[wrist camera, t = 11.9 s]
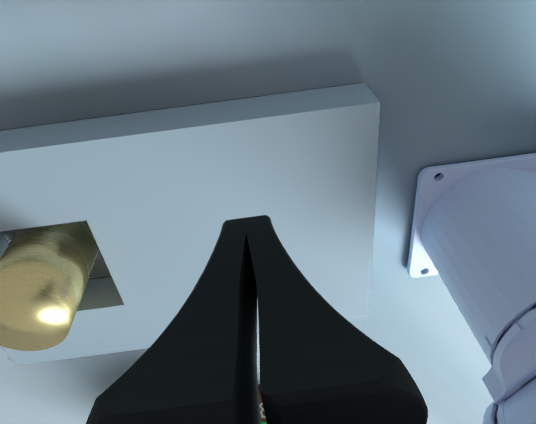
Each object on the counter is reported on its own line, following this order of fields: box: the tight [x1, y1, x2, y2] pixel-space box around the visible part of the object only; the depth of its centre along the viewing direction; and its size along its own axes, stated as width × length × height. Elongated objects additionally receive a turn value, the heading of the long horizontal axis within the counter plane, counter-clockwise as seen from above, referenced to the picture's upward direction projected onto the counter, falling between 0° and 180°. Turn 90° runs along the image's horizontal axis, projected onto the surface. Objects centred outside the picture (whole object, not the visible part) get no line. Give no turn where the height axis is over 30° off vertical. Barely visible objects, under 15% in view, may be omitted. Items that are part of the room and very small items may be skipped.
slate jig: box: [0, 83, 380, 366], centre depth 23 cm, size 22×14×2 cm, turn 96°
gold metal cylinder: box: [0, 220, 99, 351], centre depth 22 cm, size 4×4×6 cm
